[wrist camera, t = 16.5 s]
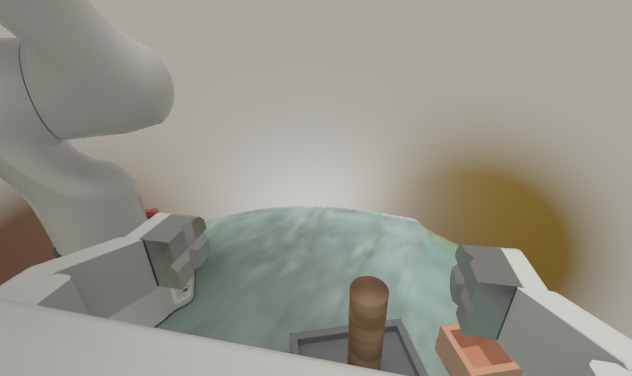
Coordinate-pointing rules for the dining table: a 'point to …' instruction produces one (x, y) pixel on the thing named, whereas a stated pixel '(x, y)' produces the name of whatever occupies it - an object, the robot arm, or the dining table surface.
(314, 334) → the tray
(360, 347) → the dowel
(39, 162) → the robot arm
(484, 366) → the pot
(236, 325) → the dining table surface
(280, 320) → the dining table surface
